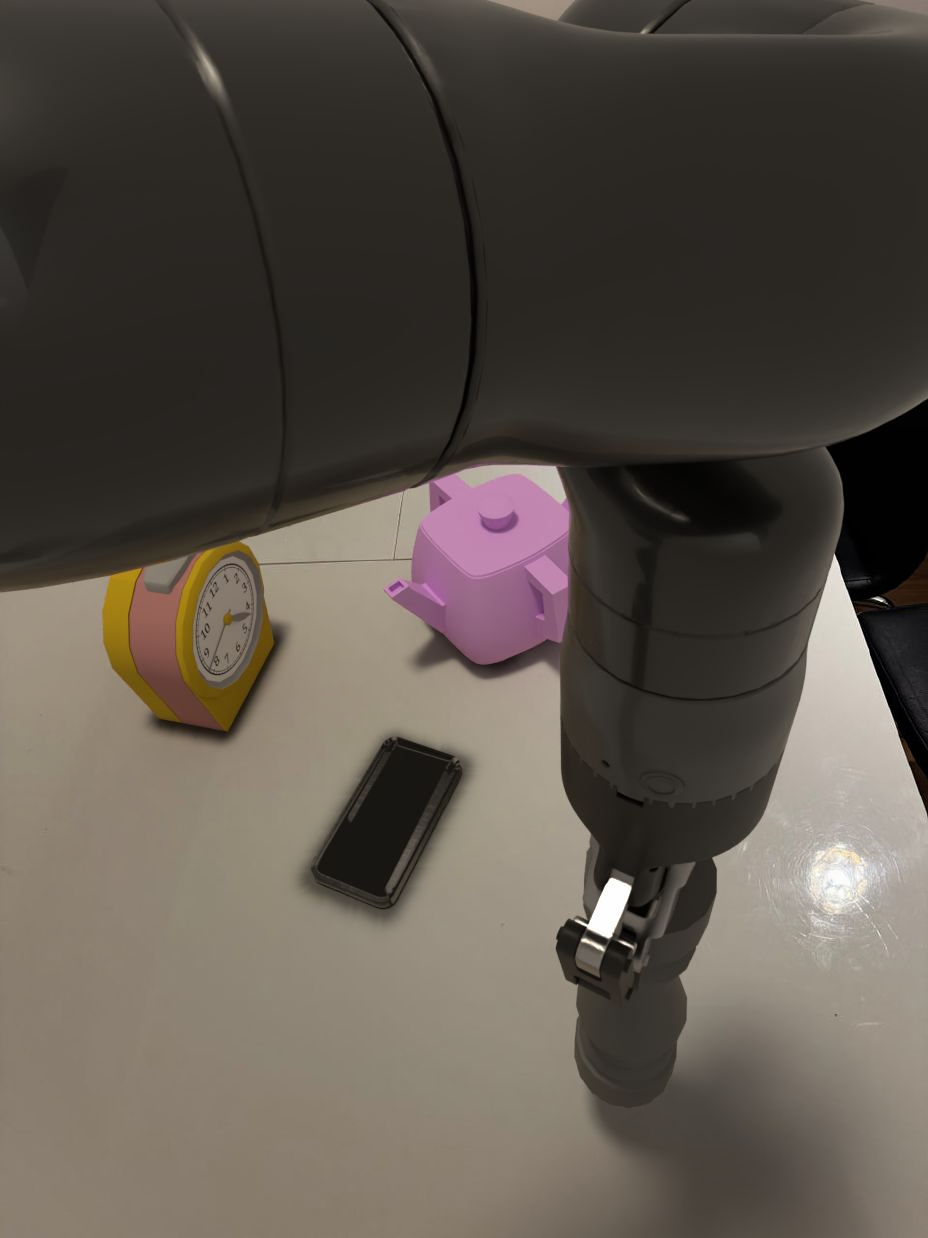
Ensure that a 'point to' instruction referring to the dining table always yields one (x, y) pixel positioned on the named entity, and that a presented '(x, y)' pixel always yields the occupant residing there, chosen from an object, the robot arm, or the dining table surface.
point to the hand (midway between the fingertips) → (642, 916)
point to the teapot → (490, 566)
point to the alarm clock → (190, 634)
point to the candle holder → (644, 1005)
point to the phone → (387, 822)
